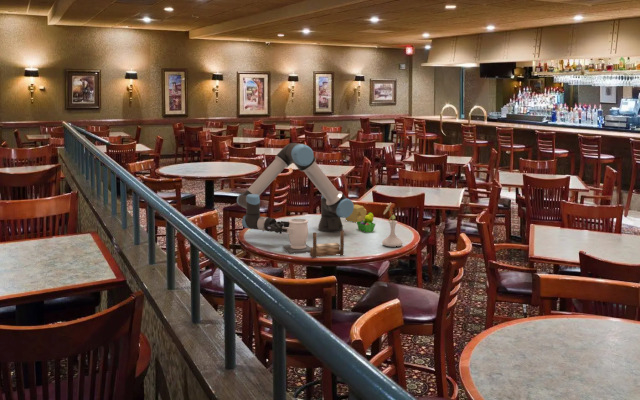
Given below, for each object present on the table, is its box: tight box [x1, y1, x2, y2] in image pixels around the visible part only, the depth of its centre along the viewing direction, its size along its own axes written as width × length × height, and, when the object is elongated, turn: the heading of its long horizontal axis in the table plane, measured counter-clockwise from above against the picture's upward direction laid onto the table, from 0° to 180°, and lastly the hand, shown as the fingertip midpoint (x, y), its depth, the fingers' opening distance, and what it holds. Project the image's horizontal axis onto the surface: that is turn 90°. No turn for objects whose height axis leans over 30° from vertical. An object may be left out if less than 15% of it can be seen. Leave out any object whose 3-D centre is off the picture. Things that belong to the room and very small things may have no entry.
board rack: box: [309, 230, 345, 259], centre depth 335 cm, size 17×7×13 cm, turn 109°
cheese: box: [345, 204, 368, 223], centre depth 424 cm, size 10×11×10 cm
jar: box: [287, 218, 309, 249], centre depth 346 cm, size 11×10×15 cm
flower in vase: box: [381, 202, 403, 248], centre depth 355 cm, size 13×11×25 cm
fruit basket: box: [356, 212, 376, 233], centre depth 394 cm, size 11×9×11 cm
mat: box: [282, 243, 312, 255], centre depth 347 cm, size 13×14×1 cm
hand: (299, 228), depth 344 cm, fingers open, 13 cm apart
